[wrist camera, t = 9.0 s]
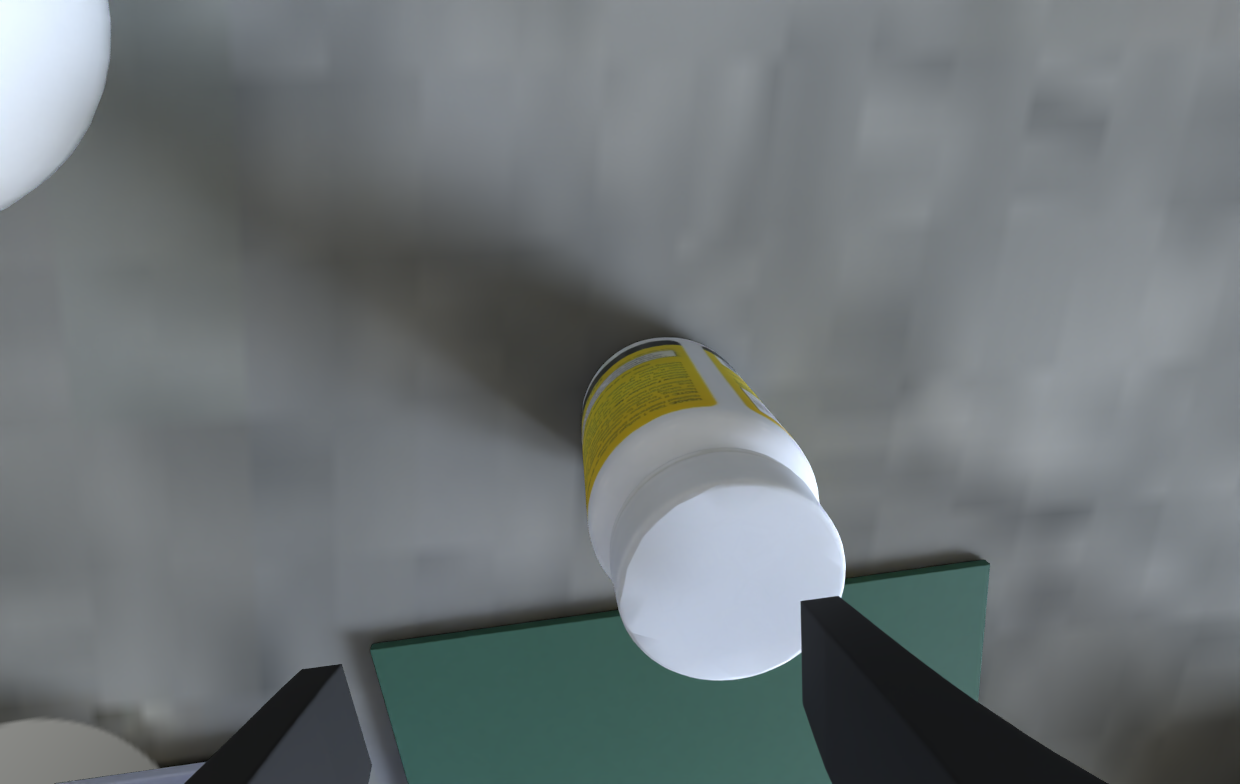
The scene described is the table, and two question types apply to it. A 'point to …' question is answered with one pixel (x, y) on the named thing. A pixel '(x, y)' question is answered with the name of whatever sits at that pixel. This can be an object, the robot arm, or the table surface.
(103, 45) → the trinket box
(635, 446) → the supplement bottle
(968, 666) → the green board
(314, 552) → the table surface
